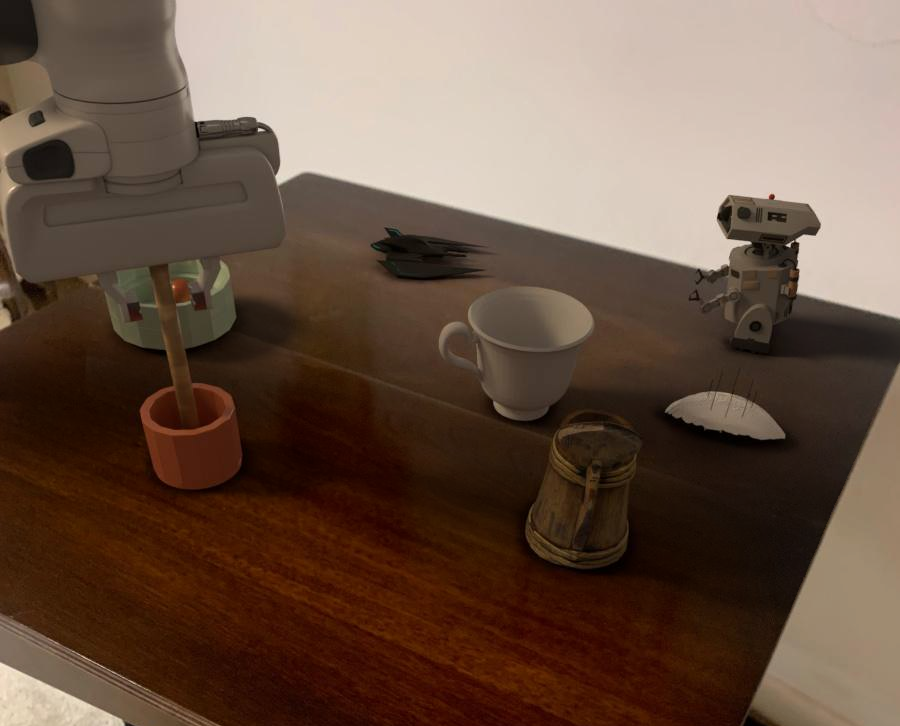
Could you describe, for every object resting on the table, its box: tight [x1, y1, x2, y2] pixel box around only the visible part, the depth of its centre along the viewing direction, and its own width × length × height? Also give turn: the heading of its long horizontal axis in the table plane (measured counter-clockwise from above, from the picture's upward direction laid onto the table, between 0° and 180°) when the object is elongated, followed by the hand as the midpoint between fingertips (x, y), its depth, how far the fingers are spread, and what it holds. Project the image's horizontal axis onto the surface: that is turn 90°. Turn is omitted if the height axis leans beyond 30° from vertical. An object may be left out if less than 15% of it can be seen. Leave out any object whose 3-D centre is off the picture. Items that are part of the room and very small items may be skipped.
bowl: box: [103, 259, 237, 351], centre depth 97 cm, size 13×13×6 cm
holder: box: [139, 382, 243, 491], centre depth 80 cm, size 8×8×6 cm
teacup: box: [438, 285, 595, 422], centre depth 87 cm, size 12×15×10 cm
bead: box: [172, 279, 190, 303], centre depth 100 cm, size 3×3×3 cm
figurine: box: [688, 193, 822, 355], centre depth 98 cm, size 9×12×15 cm
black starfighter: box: [370, 226, 490, 280], centre depth 112 cm, size 11×15×3 cm
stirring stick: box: [149, 264, 200, 430], centre depth 75 cm, size 2×2×20 cm
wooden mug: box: [524, 408, 644, 571], centre depth 69 cm, size 9×14×18 cm, turn 169°
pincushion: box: [664, 368, 786, 441], centre depth 88 cm, size 12×6×6 cm, turn 69°
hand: (167, 312), depth 71 cm, fingers open, 4 cm apart
